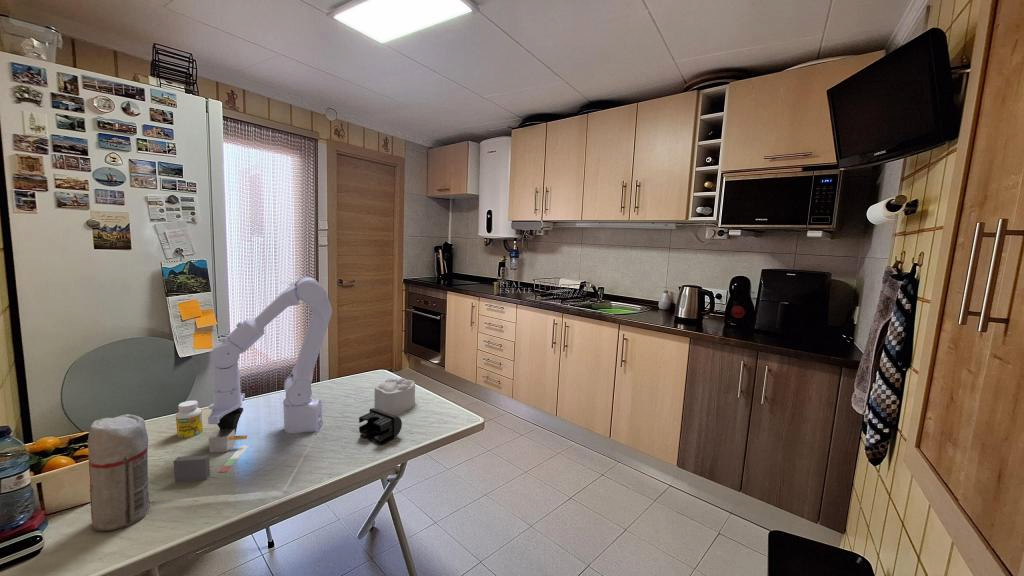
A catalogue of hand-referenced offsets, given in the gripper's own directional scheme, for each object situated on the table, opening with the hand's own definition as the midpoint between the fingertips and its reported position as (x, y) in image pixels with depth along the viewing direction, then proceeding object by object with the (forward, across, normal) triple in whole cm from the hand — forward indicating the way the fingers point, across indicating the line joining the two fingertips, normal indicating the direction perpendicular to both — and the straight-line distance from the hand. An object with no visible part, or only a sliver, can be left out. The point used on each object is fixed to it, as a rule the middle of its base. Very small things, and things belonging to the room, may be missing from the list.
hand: (229, 437), depth 102 cm
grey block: (+1, +3, +2) cm, 4 cm away
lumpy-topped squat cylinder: (+2, -20, +41) cm, 46 cm away
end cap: (+2, 0, +38) cm, 38 cm away
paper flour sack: (+2, +26, -7) cm, 27 cm away
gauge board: (+2, +9, 0) cm, 9 cm away
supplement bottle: (+2, -6, -12) cm, 13 cm away
